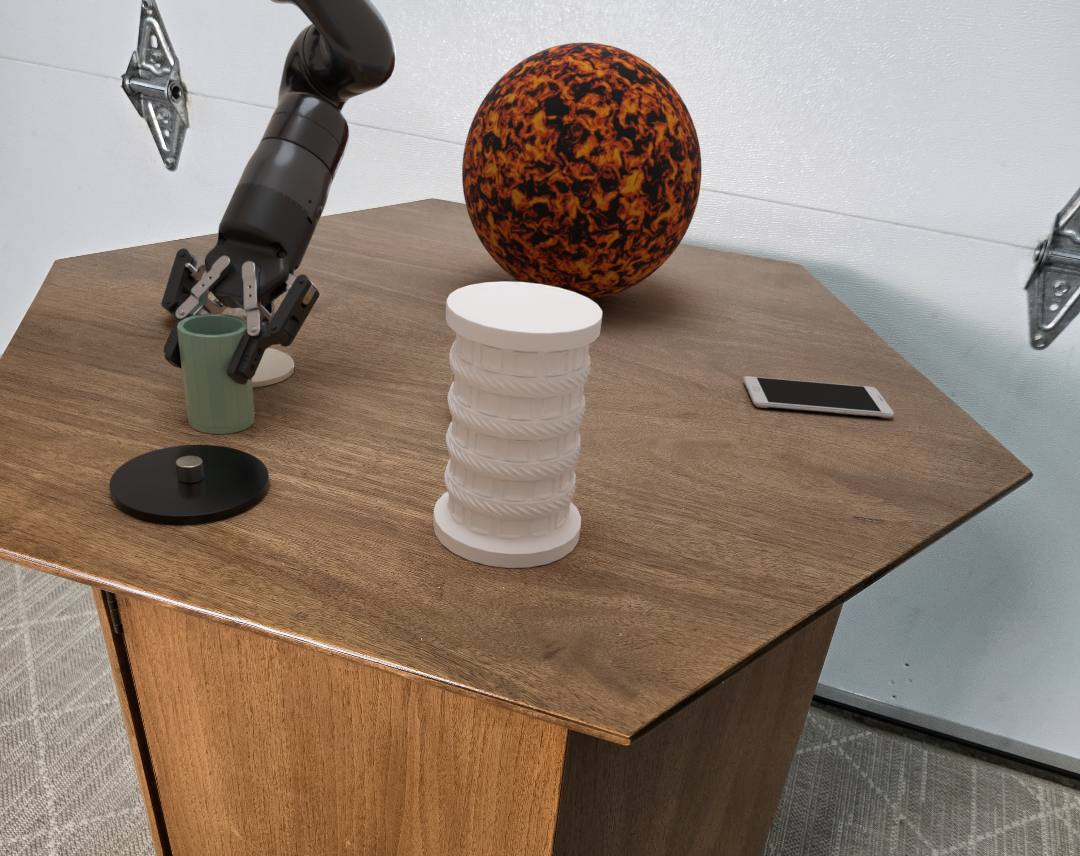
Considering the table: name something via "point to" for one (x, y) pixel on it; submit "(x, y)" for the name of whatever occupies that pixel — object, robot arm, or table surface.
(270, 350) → the coaster
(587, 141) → the ball
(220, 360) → the pot
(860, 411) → the smartphone
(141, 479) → the lid
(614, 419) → the table surface
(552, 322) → the decorative container
